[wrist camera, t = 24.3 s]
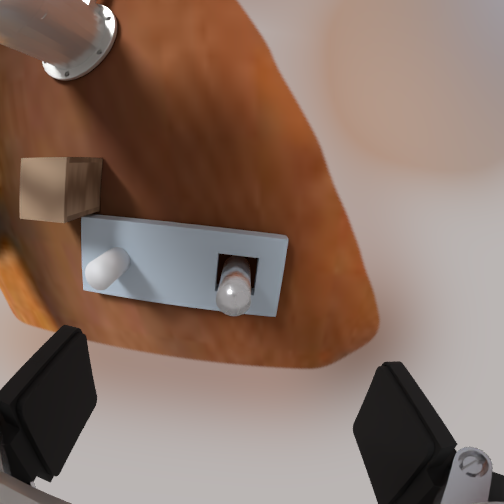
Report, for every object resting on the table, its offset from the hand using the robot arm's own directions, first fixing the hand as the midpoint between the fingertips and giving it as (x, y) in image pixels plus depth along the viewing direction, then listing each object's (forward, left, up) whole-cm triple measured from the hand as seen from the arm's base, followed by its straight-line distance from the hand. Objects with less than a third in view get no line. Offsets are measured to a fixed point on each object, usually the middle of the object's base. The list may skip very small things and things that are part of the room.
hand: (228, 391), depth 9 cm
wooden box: (-3, -23, -30) cm, 38 cm away
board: (+6, -7, -30) cm, 32 cm away
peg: (+6, 0, -30) cm, 31 cm away
